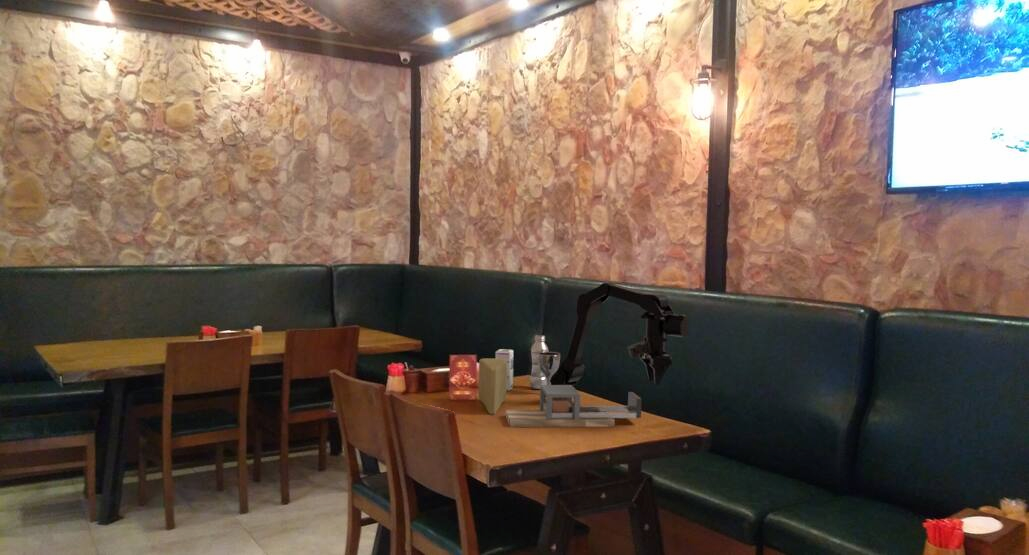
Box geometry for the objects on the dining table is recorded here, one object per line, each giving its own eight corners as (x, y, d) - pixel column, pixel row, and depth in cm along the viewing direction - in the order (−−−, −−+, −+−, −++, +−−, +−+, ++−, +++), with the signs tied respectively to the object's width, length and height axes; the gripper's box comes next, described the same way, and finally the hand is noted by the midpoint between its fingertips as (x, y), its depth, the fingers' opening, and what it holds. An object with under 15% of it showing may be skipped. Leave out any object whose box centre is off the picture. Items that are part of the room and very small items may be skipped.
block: (549, 413, 249) (550, 397, 249) (565, 413, 250) (565, 397, 250) (552, 416, 244) (552, 400, 244) (568, 416, 245) (568, 400, 245)
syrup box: (510, 390, 292) (511, 351, 291) (494, 389, 293) (495, 350, 292) (513, 387, 298) (514, 349, 297) (497, 386, 299) (498, 348, 298)
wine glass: (559, 397, 283) (560, 355, 282) (537, 396, 283) (538, 354, 282) (558, 392, 291) (559, 351, 290) (536, 391, 291) (537, 351, 290)
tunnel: (539, 409, 253) (540, 384, 253) (570, 409, 255) (571, 385, 254) (546, 420, 240) (547, 394, 239) (579, 420, 241) (580, 394, 240)
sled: (542, 410, 251) (542, 391, 251) (632, 410, 255) (632, 392, 255) (547, 418, 242) (547, 398, 241) (640, 417, 245) (641, 398, 245)
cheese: (507, 415, 254) (508, 368, 253) (477, 414, 253) (478, 368, 252) (506, 400, 276) (507, 357, 275) (478, 399, 275) (479, 357, 275)
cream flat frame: (505, 416, 252) (505, 409, 252) (604, 415, 256) (604, 409, 256) (510, 427, 238) (510, 420, 238) (614, 426, 242) (614, 420, 242)
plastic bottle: (537, 386, 302) (539, 334, 300) (550, 389, 297) (552, 336, 295) (525, 388, 297) (527, 335, 296) (539, 391, 292) (540, 337, 291)
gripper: (622, 330, 257) (621, 377, 258) (638, 337, 239) (636, 389, 240) (656, 330, 259) (654, 377, 260) (674, 338, 240) (672, 389, 241)
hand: (653, 383), depth 250 cm, fingers open, 7 cm apart
